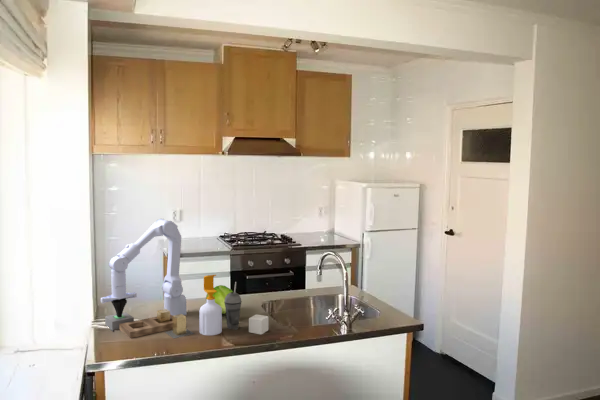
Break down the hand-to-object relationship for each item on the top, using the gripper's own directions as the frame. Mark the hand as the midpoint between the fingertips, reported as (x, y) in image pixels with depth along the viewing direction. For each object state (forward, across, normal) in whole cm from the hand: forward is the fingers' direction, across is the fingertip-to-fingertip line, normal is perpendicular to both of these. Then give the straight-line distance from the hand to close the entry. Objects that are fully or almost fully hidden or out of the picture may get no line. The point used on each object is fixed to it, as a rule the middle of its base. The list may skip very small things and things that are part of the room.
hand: (119, 316), depth 217 cm
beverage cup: (+4, -37, +31) cm, 48 cm away
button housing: (+4, 0, 0) cm, 4 cm away
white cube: (+4, -44, +40) cm, 60 cm away
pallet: (+4, -9, +12) cm, 16 cm away
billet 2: (+3, -16, +24) cm, 29 cm away
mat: (+4, -16, +24) cm, 29 cm away
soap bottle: (+4, -27, +30) cm, 41 cm away
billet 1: (+4, -14, +12) cm, 19 cm away
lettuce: (+4, -43, +12) cm, 45 cm away
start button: (+3, 0, 0) cm, 3 cm away
